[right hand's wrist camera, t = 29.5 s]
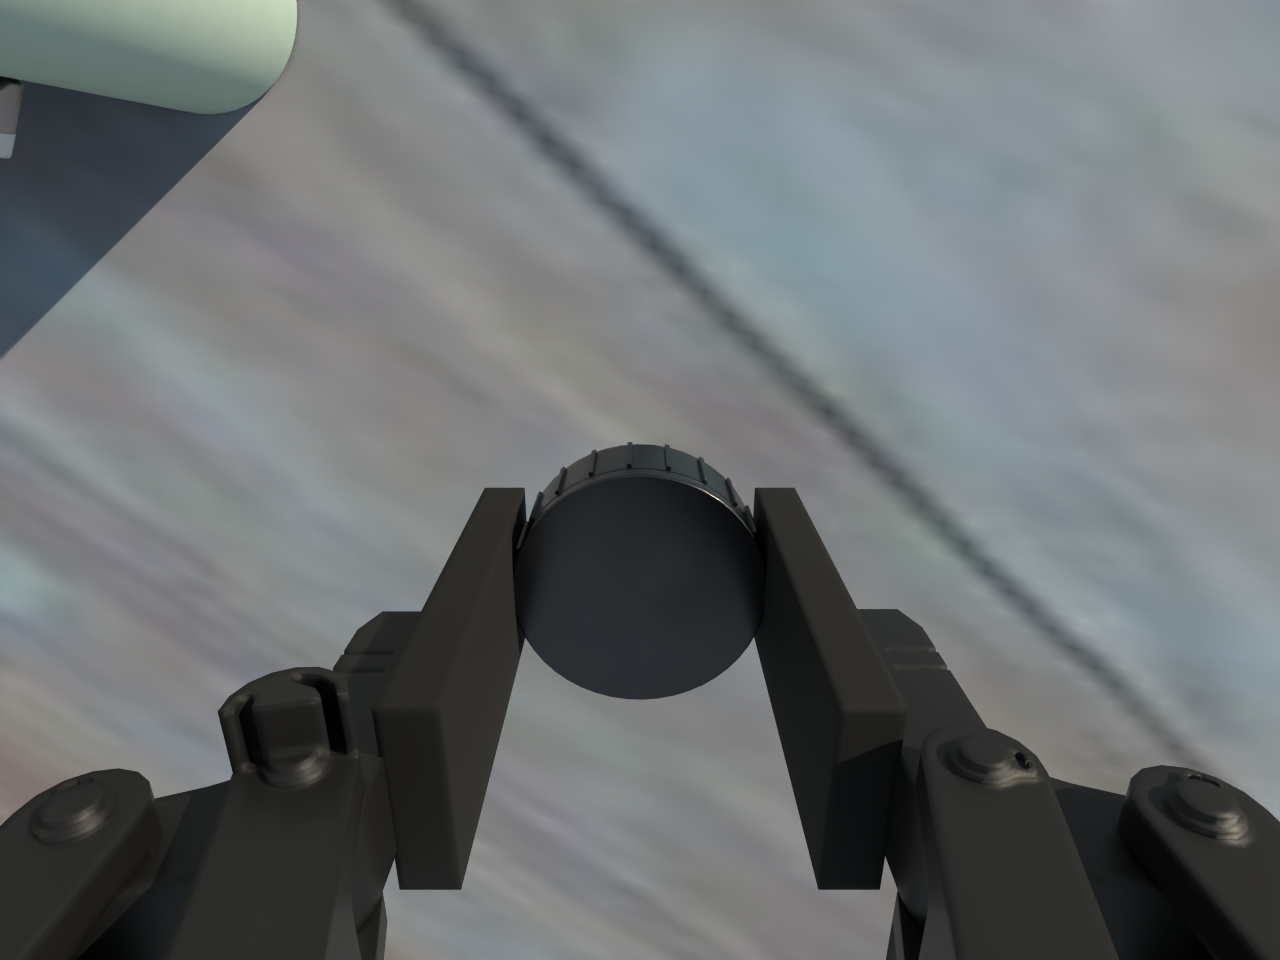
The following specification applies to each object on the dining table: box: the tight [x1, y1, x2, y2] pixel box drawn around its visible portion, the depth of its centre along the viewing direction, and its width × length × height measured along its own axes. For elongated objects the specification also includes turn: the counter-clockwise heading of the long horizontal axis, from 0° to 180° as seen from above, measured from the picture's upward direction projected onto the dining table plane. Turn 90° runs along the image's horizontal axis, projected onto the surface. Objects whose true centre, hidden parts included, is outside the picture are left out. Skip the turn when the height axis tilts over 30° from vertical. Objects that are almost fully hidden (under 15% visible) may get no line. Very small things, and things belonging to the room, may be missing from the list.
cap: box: [513, 442, 766, 699], centre depth 14 cm, size 5×5×2 cm
